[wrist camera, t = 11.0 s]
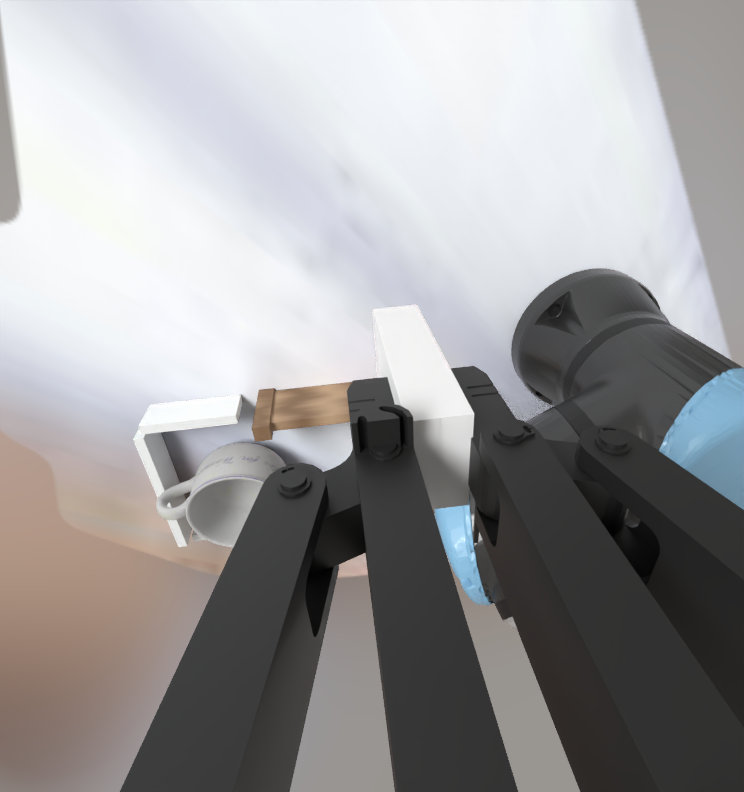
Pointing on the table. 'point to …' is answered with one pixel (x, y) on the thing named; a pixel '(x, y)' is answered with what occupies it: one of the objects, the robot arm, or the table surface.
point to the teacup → (222, 491)
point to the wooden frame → (299, 409)
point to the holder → (156, 451)
